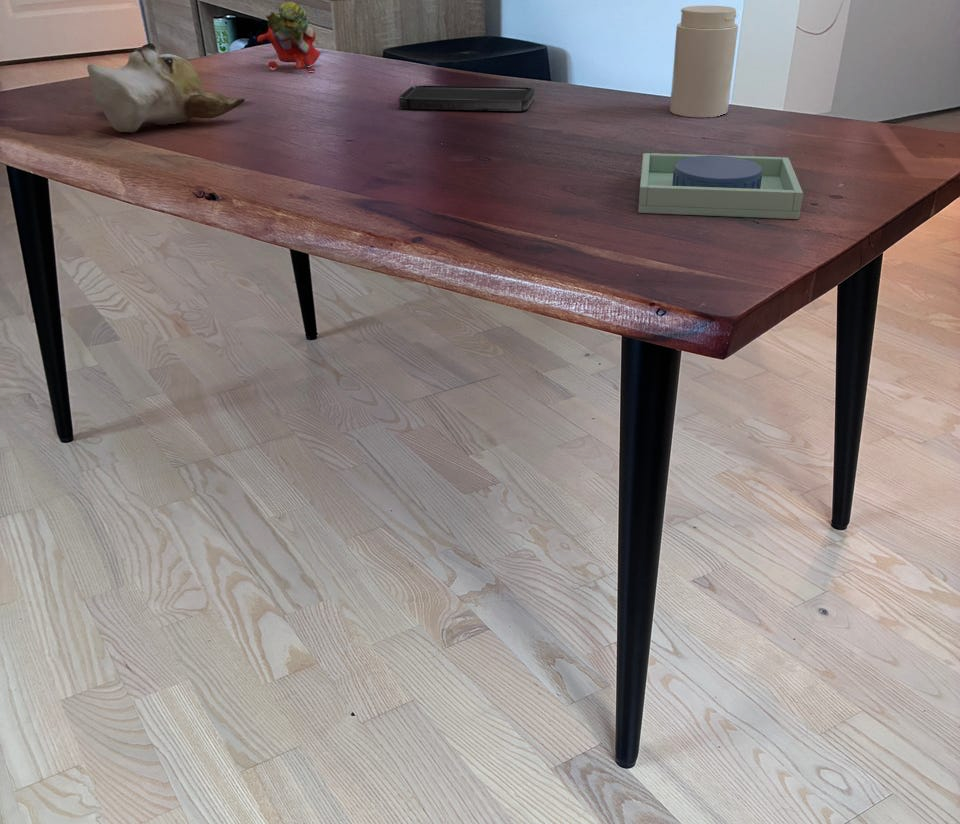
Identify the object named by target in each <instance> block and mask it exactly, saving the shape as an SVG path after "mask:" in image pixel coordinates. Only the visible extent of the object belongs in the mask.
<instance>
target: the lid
mask: <svg viewBox="0 0 960 824" xmlns="http://www.w3.org/2000/svg"><path fill="white" fill-rule="evenodd" d="M728 156H729V155H724V156H696V157H690V158H685V159H682V160H680V161H678V162H677V163H676V164H675V170H674V173H673V184H672V185H673V186H689V187H718V188H746V189H760V187H761V179H762V176H761V172H762V168H761V166H760V165H758V164H757V163H755V162H752V161H749V160H746V159H741V158H736V157H728Z"/></svg>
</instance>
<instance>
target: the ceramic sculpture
mask: <svg viewBox="0 0 960 824" xmlns="http://www.w3.org/2000/svg"><path fill="white" fill-rule="evenodd" d="M86 70H87V73H88V77H89V82H90V85H91V89H92V93H93V97H94V100H95V102H96V103H97V105H98V106H99V107H100V109H101V110H102V112H103V114H104V116H105V117H106V119H107V121H108V122H109V124H110V126H111V127H112V128H113V129H114V130H115V131H116V132H118V131H119V133H121V132H130V133H135V132H137V131H138V130H139V129H140V127H141V126H142V125H143V124H147V123H149V124H154V125H158V126H159V125H160V126H168V125H167V124H174V125H177V124H176V123H180V124H184V123H186V122H188V121H189V120H191V119H193V118H196V119H214V118H217V117H220V116H223V115H225V114H226V113H229V112H230V111H232V110H233V109H235V108H237V107H239V106H241V105H242V104H243V103H244V102H245V101H246V100H245V98H243V97H231V98H230V97H228V96H226V95H223V94H221V93H218V92H208V91H205V90H204V88H203V86H202V83H201V78H200V75H199V73H198V70H197V69H196V68H195V67H194V65H192V64H191V62H189V61H188V60H186V59H185V58H184V57H181V56H178V55H175V54H172V53H163V54H160V53H159V51H158V49H157V47H156V46H155V45H154V43H152V42H149V43H146V44H144V45H142V46H139V47H137V48H135V50H134V51H133V52H131V53H130V54H129V57H128V60H127V63H126V64H125V65H123V66H120V67H116V68H111V67H106V66H102V65H101V66H100V65H96V64H94V63H88V64H87V67H86ZM183 122H184V123H183Z"/></svg>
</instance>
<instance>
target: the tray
mask: <svg viewBox="0 0 960 824" xmlns="http://www.w3.org/2000/svg"><path fill="white" fill-rule="evenodd" d="M696 156H725V155H723V154H722V155H720V154H689V153H687V154H686V153H685V154H684V153H656V152H655V153H653V152H644V153H642V162H641V172H640V181H639V182H640V183H639V194H638V209H637V213H638V214H658V215H659V214H661V215H683V216H684V215H685V216H686V215H687V216H711V217H732V218H733V217H735V218H755V219H781V220H782V219H785V220H799V219H800V216H801V208H802V203H803V196H804V191H803V190H802V189H803V188H802V187H801V185H800V182H799V180H798V177H797V174H796V172H795V170H794V168H793V165H792V162H791V160H790V158H789V157H787V156H786V157H785V156H782V157H781V156H758V155H757V156H753V155H752V156H751V155H727V156H728V157H736V158H741V159H746V160H749V161H752V162H755V163H757V164H758V165H760V166H761V168H762V172H761V176H762V179H761V187H760V189H746V188H718V187H689V186H673V185H672V184H673V173H674V170H675V164H676V163H677V162H678V161H680V160H682V159H685V158H690V157H696Z"/></svg>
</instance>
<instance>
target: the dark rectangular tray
mask: <svg viewBox="0 0 960 824" xmlns="http://www.w3.org/2000/svg"><path fill="white" fill-rule="evenodd" d="M534 101H535V88H533V87H526V86H525V87H523V86H514V87H513V86H472V85H471V86H469V85H468V86H466V85H464V86H463V85H413V86H410V87H409V88H407V90H405V91H404V92H403V93H402V94H400V95H399V96H398V102H399V108H400V109H405V110H408V109H409V110H447V111H448V110H449V111H450V110H451V111H454V110H455V111H459V110H460V111H492V112H493V111H494V112H495V111H496V112H497V111H499V112H524V111H528V110H529V109H530V107H531V105H532V104H533V102H534Z"/></svg>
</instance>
